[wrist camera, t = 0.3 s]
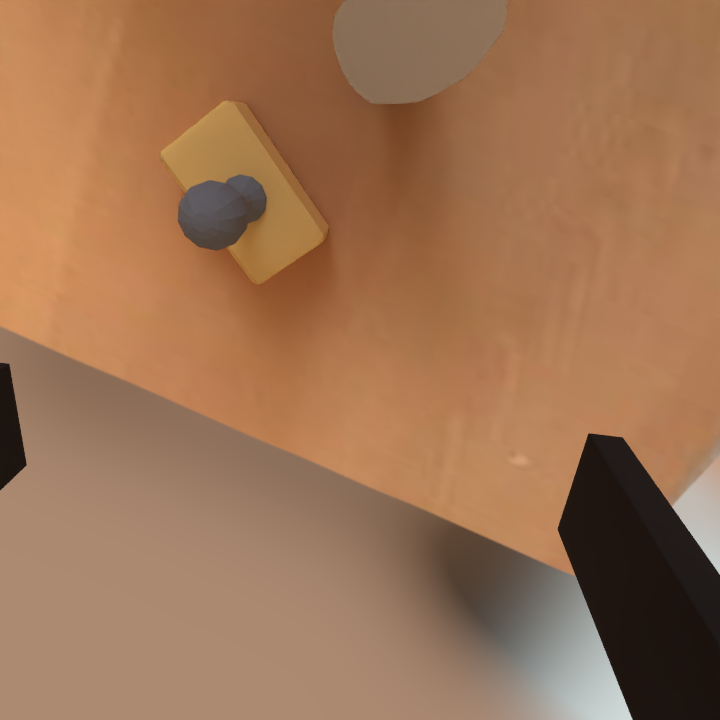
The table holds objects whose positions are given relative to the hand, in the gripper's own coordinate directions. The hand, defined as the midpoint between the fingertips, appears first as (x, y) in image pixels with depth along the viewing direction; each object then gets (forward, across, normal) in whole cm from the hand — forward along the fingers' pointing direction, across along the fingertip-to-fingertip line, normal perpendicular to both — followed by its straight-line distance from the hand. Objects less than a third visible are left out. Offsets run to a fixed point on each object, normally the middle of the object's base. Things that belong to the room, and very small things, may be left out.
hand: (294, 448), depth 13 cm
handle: (+28, +2, +10) cm, 30 cm away
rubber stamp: (+28, -7, +1) cm, 29 cm away
